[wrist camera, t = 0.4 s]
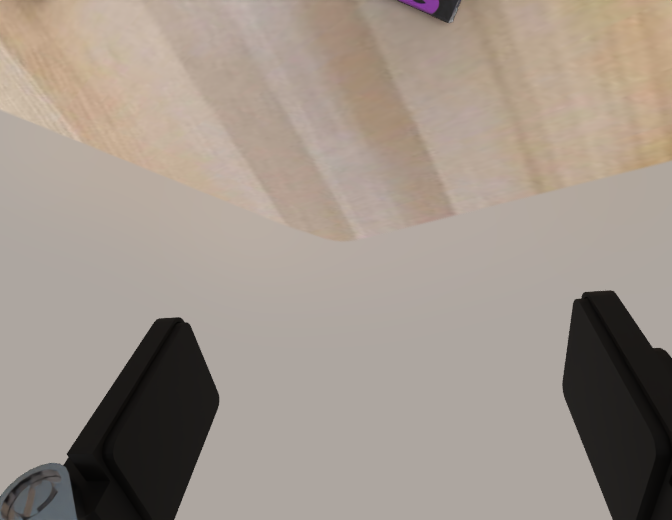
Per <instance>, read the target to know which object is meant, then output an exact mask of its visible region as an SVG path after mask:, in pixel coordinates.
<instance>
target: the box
mask: <svg viewBox="0 0 672 520" xmlns="http://www.w3.org/2000/svg"><path fill="white" fill-rule="evenodd" d="M397 1H399V2H402V3H404V4H407V5H409V6H411V7H414V8H416V9H418V10H420V11H422V12H425V13H427V14H429V15H432V16H434V17H436V18H438V19H440V20H442V21H445V22H447V23H451V22H453V20H454V17H455V15H456V13H457V10H458V7H459V4H460V2H461V0H397Z"/></svg>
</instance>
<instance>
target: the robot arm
mask: <svg viewBox="0 0 672 520" xmlns="http://www.w3.org/2000/svg"><path fill="white" fill-rule="evenodd" d="M563 393H564V397H565V400H566V403H567V405H568V407H569V410H570V412H571V415H572V418H573V420H574V423H575V425H576V427H577V430H578V433H579V435H580V438H581V440H582V443H583V445H584V448H585V451H586V453H587V456H588V458H589V460H590V463H591V466H592V468H593V471H594V473H595V476H596V478H597V481H598V483H599V486H600V488H601V491H602V493H603V496H604V498H605V501H606V503H607V506H608V509H609V511H610V514H611V516H612V519H613V520H672V358H671V357H670V355H669V354H668V353H667V352H666V351H665V350H663V349H661V348H652V346H651V345H650V343H649V342H648V341H647V339H646V337H645V336H644V334H643V333H642V332H641V330H640V329H639V327H638V326H637V324H636V323H635V321H634V320H633V318H632V317H631V315H630V314H629V312H628V311H627V309H626V308H625V306H624V305H623V303H622V302H621V301H620V299H619V297H618V296H617V295H616V293H615V292H614V291H594V292H585V293H583V295H582V298H581V299H576V300H575V301H574V303H573V309H572V316H571V323H570V331H569V338H568V346H567V353H566V361H565V368H564V375H563ZM218 406H219V394H218V391H217V389H216V386H215V384H214V382H213V379H212V377H211V374H210V372H209V370H208V367H207V365H206V362H205V360H204V357H203V355H202V353H201V350H200V348H199V345H198V343H197V341H196V338H195V336H194V333H193V331H192V328H191V326H190V324H188V323H185V322H184V321H183V319H181V318H179V317H178V318H161V319H157V320H156V321H155V322H154V324H153V325H152V326H151V328H150V330H149V331H148V332H147V334H146V335H145V337H144V339H143V340H142V342H141V343H140V345H139V346H138V348H137V349H136V351H135V352H134V354H133V355H132V357H131V358H130V360H129V361H128V363H127V364H126V366H125V367H124V369H123V370H122V372H121V373H120V375H119V376H118V378H117V379H116V381H115V382H114V384H113V385H112V387H111V388H110V390H109V391H108V393H107V394H106V396H105V397H104V399H103V400H102V402H101V403H100V405H99V406H98V408H97V409H96V411H95V412H94V414H93V415H92V417H91V418H90V420H89V421H88V423H87V425H86V426H85V427H84V429H83V430H82V432H81V433H80V435H79V436H78V438H77V439H76V441H75V442H74V444H73V445H72V447H71V449H70V450H69V452H68V453H67V455H68V457H69V458H68V459H67V461H66V462H65V464H64V465H61V464H57V463H49V464H44V465H41V466H38V467H36V468H33V469H31V470H29V471H28V472H26V473H24V474H23V475H21V476H20V477H18V478H17V479H16V480H15V481H14V482H13V483H12V484H10V486H8V487H7V489H6V490H5V491H4V492H3V494H2V495H1V496H0V520H174V519H175V516H176V514H177V511H178V508H179V506H180V503H181V501H182V498H183V496H184V493H185V491H186V488H187V486H188V483H189V480H190V478H191V475H192V473H193V470H194V468H195V465H196V462H197V460H198V457H199V455H200V452H201V450H202V447H203V445H204V442H205V440H206V437H207V435H208V432H209V430H210V427H211V425H212V422H213V419H214V416H215V414H216V412H217V409H218Z"/></svg>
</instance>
